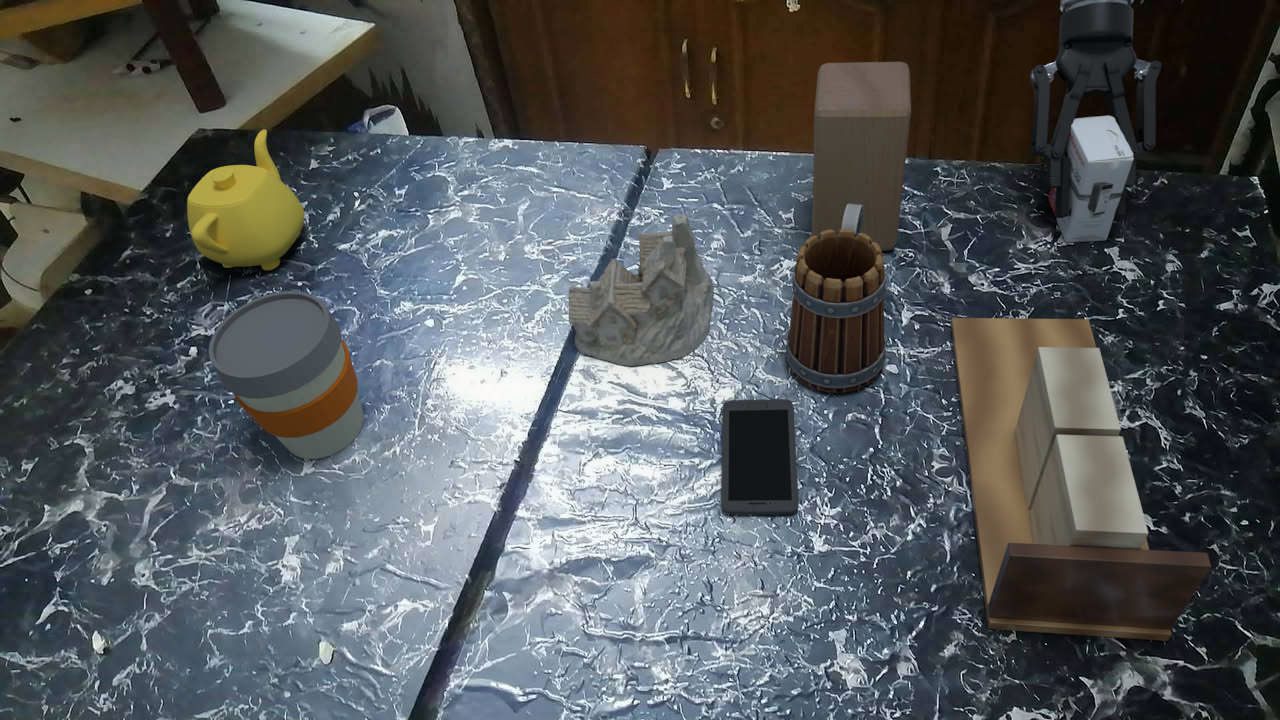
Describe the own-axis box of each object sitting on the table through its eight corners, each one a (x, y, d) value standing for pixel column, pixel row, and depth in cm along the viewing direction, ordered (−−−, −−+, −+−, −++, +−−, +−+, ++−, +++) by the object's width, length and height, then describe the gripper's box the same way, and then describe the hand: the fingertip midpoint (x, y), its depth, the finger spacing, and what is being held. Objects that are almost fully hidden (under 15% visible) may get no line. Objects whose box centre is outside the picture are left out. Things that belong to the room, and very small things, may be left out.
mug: (877, 404, 96) (887, 299, 85) (776, 387, 99) (774, 284, 88) (898, 301, 105) (910, 195, 94) (805, 289, 108) (807, 185, 98)
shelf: (1086, 326, 99) (1117, 231, 90) (1167, 641, 76) (1222, 557, 66) (950, 325, 102) (966, 232, 92) (987, 629, 78) (1015, 546, 68)
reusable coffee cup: (264, 406, 106) (204, 312, 95) (371, 370, 108) (324, 274, 97) (272, 488, 98) (207, 397, 87) (388, 448, 100) (339, 353, 89)
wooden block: (895, 202, 117) (910, 57, 103) (896, 254, 111) (912, 108, 96) (815, 200, 119) (818, 59, 105) (811, 252, 113) (814, 108, 98)
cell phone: (793, 402, 97) (793, 397, 96) (799, 515, 88) (799, 511, 87) (722, 404, 98) (722, 399, 97) (721, 515, 89) (720, 511, 88)
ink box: (1045, 198, 114) (1066, 115, 106) (1087, 196, 114) (1111, 112, 105) (1064, 244, 108) (1088, 160, 100) (1108, 242, 108) (1136, 157, 99)
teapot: (339, 201, 132) (305, 126, 123) (273, 297, 119) (231, 222, 110) (256, 197, 135) (218, 124, 126) (184, 291, 122) (135, 217, 113)
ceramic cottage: (727, 273, 112) (710, 173, 101) (696, 377, 102) (673, 279, 91) (606, 267, 116) (577, 171, 106) (565, 366, 107) (528, 272, 96)
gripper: (1171, 16, 107) (1164, 219, 108) (1004, 24, 110) (998, 220, 111) (1198, -6, 100) (1190, 211, 101) (1017, 3, 103) (1012, 213, 104)
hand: (1089, 216), depth 106 cm, fingers closed on ink box, 5 cm apart
